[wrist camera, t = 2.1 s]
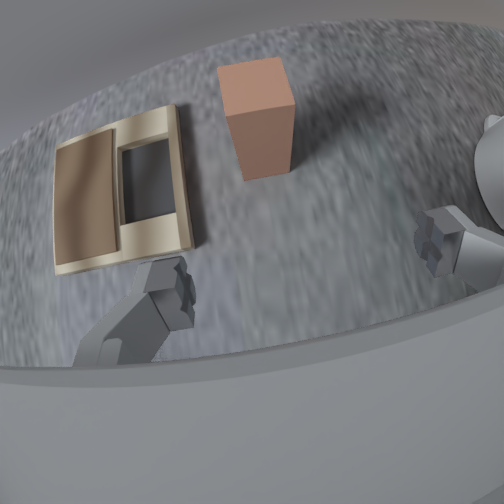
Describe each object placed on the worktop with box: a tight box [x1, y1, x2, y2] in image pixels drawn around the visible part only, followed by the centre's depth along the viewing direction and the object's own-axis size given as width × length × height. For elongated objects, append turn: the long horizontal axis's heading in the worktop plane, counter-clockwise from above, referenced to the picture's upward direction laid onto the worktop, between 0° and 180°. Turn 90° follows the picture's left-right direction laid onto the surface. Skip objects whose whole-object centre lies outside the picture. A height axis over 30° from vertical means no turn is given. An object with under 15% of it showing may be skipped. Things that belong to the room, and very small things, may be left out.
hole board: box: [53, 104, 195, 276], centre depth 31 cm, size 16×16×2 cm
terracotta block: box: [217, 57, 295, 181], centre depth 25 cm, size 4×4×12 cm
